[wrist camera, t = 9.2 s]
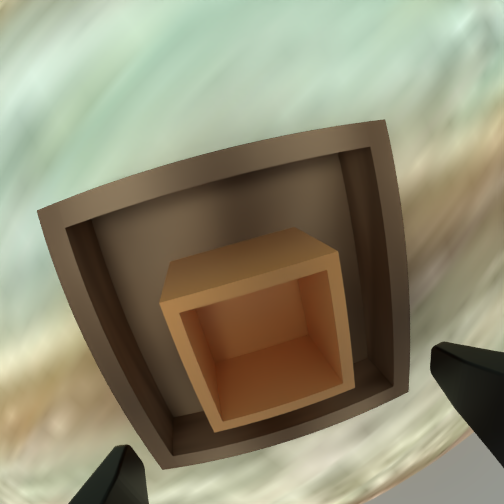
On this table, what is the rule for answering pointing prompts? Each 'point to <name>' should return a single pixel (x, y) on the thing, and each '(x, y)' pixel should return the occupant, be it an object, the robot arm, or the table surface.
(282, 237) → the small crate
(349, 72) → the table surface
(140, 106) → the table surface
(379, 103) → the table surface
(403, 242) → the walnut crate
